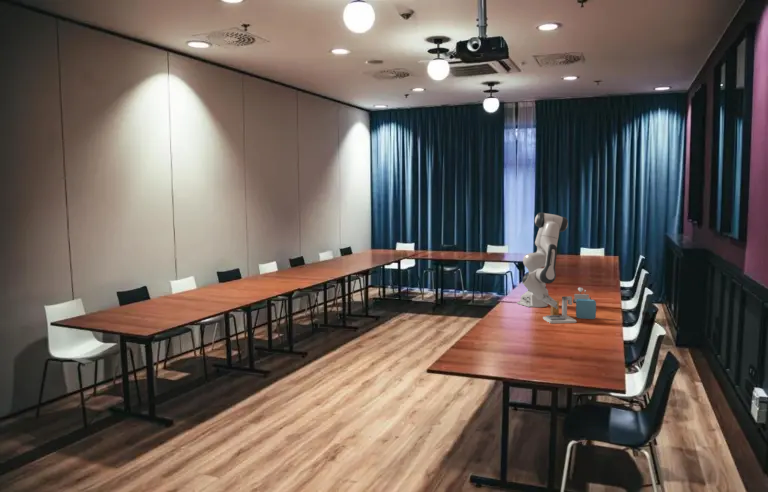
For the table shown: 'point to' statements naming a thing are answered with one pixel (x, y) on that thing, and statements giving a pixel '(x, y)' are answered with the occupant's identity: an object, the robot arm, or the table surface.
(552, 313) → the wooden square pillar
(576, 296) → the toy car
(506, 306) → the table surface
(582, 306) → the data package
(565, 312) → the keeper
